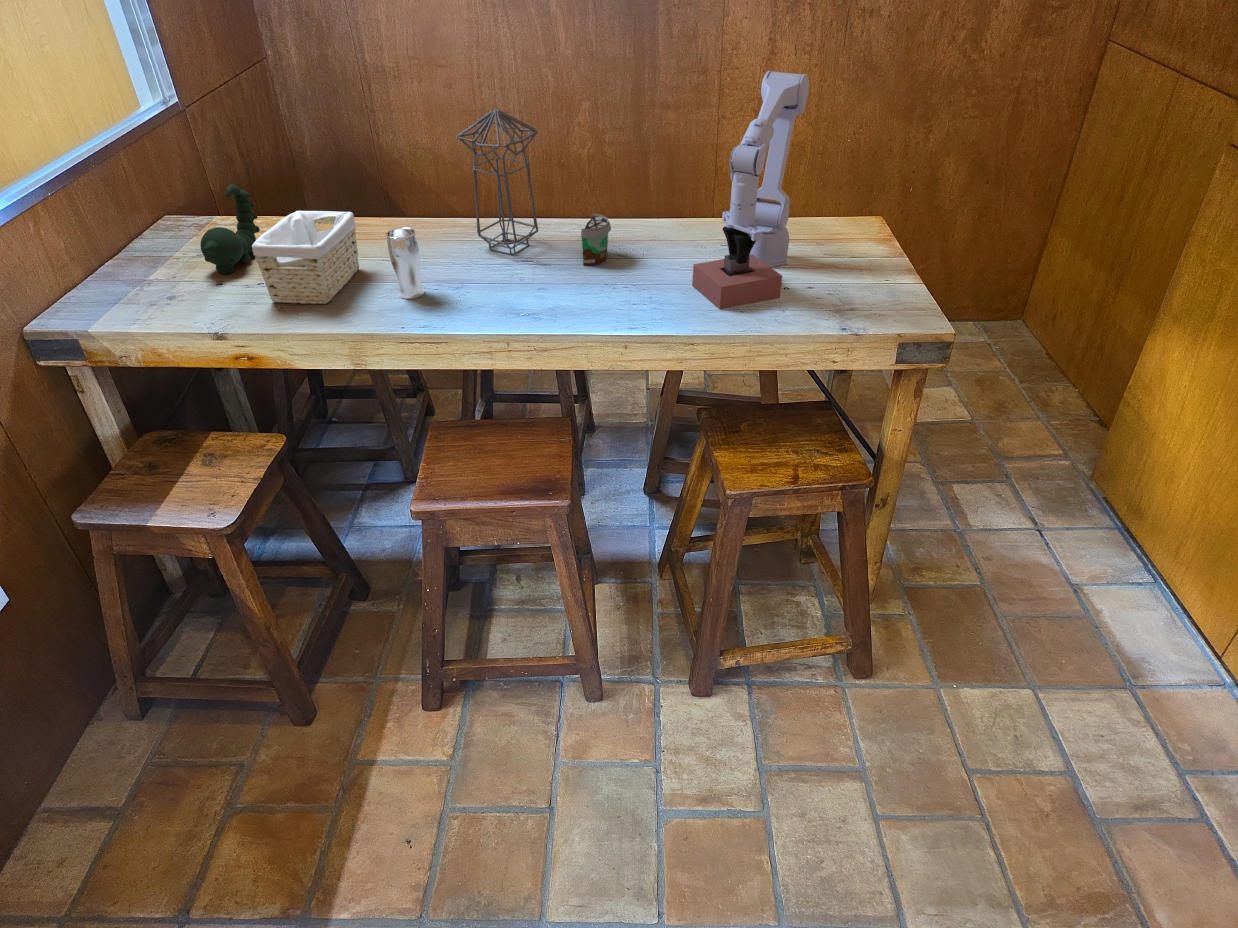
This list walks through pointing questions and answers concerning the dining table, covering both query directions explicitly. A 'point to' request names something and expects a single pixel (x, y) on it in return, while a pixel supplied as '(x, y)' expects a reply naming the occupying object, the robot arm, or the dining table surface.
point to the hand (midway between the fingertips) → (738, 260)
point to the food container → (595, 240)
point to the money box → (736, 283)
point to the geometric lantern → (487, 123)
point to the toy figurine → (232, 236)
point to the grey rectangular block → (735, 265)
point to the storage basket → (308, 256)
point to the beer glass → (405, 261)
